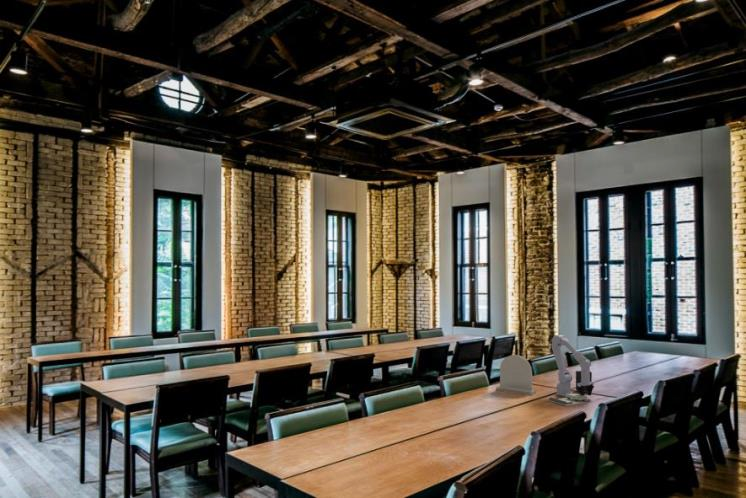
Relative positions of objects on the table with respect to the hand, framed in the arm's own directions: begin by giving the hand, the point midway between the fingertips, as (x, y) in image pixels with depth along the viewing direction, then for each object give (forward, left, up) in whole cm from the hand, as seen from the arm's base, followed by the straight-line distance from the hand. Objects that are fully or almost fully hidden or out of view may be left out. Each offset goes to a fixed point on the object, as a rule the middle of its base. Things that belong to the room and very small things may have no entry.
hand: (585, 395), depth 369 cm
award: (-40, -29, -3) cm, 49 cm away
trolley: (0, -10, -2) cm, 10 cm away
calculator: (-20, +21, -3) cm, 29 cm away
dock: (0, -19, -2) cm, 19 cm away
